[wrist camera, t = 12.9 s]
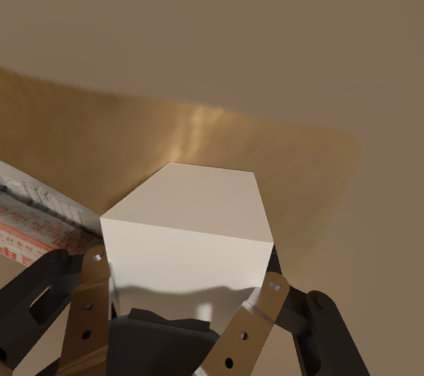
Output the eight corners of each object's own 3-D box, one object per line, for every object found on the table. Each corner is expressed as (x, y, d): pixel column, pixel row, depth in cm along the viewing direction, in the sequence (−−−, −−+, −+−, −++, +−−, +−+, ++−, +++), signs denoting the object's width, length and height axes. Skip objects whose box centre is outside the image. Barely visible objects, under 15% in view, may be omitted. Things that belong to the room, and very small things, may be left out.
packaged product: (114, 267, 17) (88, 311, 21) (139, 231, 21) (113, 274, 25) (-107, 156, 14) (-82, 235, 18) (-25, 141, 18) (-22, 207, 22)
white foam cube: (240, 241, 18) (244, 346, 10) (169, 230, 19) (119, 322, 11) (253, 172, 15) (273, 243, 7) (169, 162, 16) (99, 217, 8)
